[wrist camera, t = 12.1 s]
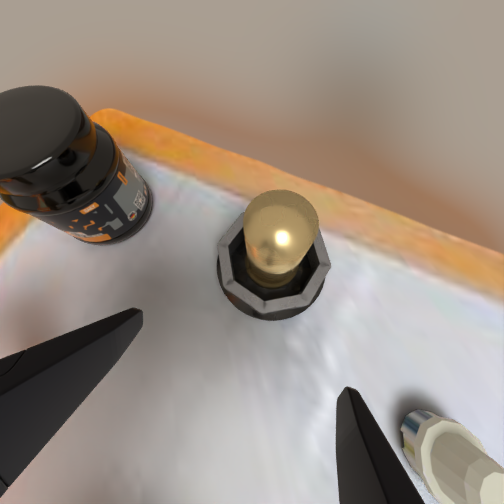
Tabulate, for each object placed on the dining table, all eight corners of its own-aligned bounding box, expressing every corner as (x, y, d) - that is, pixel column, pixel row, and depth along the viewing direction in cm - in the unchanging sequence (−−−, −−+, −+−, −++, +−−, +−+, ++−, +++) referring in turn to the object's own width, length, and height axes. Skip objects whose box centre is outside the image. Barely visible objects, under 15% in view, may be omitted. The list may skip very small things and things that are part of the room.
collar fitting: (226, 330, 22) (220, 331, 18) (212, 228, 26) (205, 212, 22) (338, 308, 22) (353, 305, 19) (307, 211, 26) (315, 193, 23)
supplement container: (55, 231, 26) (-97, 158, 15) (104, 167, 30) (10, 67, 18) (126, 261, 25) (18, 205, 13) (170, 190, 28) (112, 97, 17)
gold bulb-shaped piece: (266, 300, 22) (274, 280, 13) (235, 259, 24) (222, 214, 14) (307, 269, 23) (341, 229, 14) (274, 231, 25) (286, 173, 15)
